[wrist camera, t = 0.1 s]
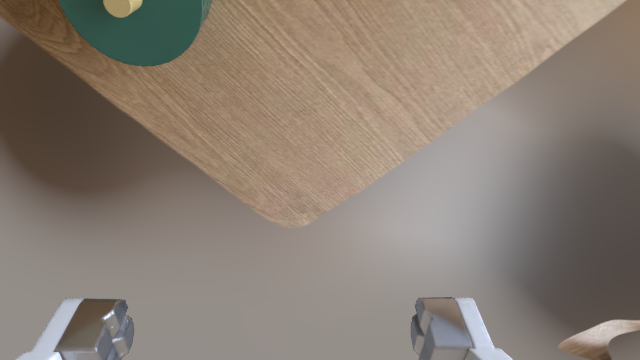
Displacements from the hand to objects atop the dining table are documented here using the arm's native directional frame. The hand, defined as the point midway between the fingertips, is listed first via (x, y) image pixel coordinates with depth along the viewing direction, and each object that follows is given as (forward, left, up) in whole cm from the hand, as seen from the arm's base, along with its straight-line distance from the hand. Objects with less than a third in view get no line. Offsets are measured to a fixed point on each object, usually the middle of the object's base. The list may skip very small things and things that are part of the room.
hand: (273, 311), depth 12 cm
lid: (-1, -17, -39) cm, 43 cm away
